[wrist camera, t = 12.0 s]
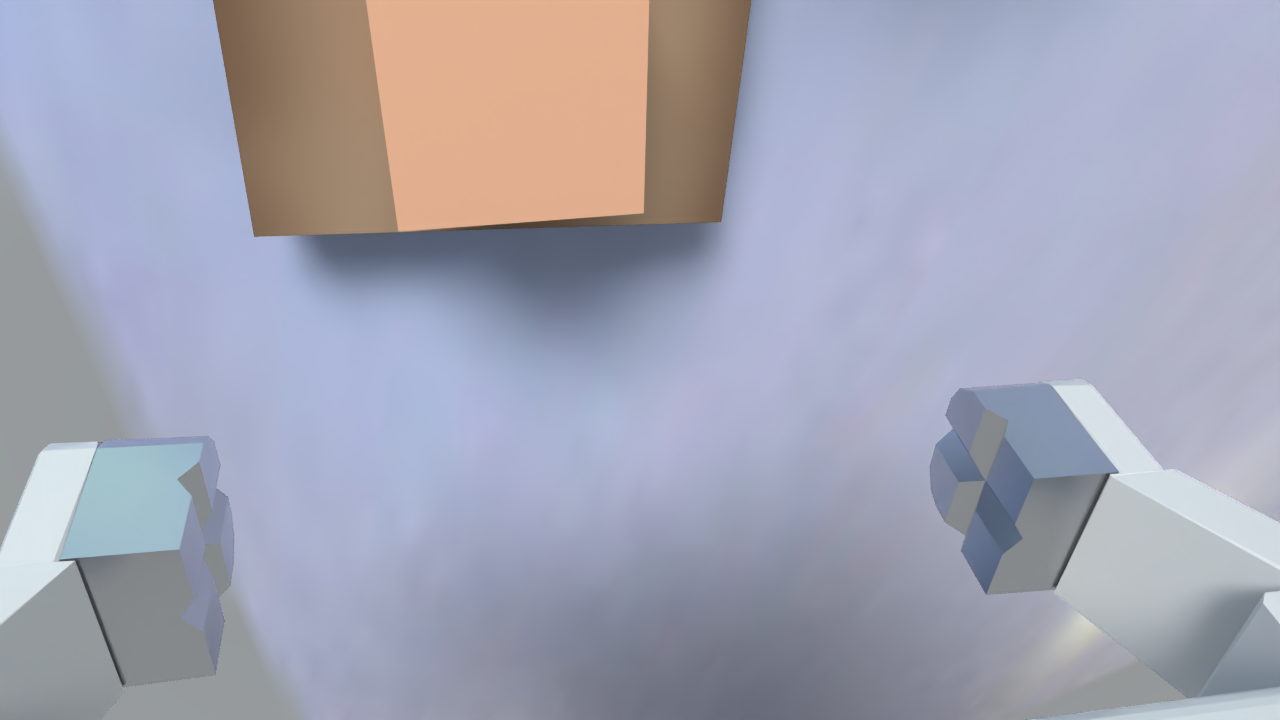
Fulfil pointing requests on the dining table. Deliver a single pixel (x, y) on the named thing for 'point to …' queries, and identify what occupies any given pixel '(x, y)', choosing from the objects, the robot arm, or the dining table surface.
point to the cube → (512, 108)
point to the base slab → (354, 133)
